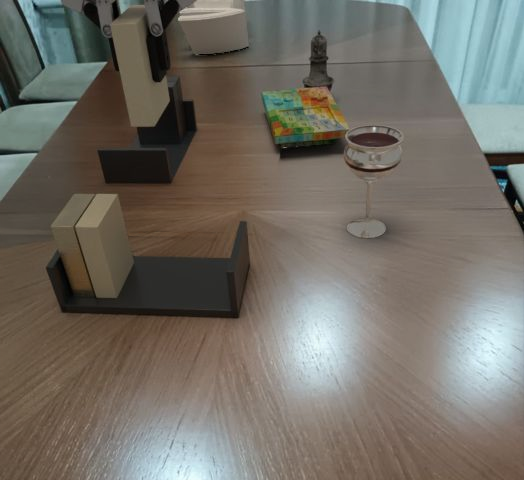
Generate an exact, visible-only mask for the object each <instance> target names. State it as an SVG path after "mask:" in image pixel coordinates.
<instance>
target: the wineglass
mask: <svg viewBox="0 0 524 480" xmlns="http://www.w3.org/2000/svg"><path fill="white" fill-rule="evenodd" d="M345 137H346V138H345V139H346V142H347V143H346V144H345V146H344V150H343V160H344V162H345V165H346V167H347V168H346V169H348V170H349V172H351V174H353V175H354V176H355V177H356V178H358V179H360V180H363V181H364V183H366V195H365V196H366V199H365V217H361V218H355V219H353V220H351V221H350V222H349V223H348V224H347V226H346V230H347V232H348V233H349V234H350V235H352V236H353V237H356V238H362V239H375V238H378V237H380V236H382V235H384V234H385V232H386V230H387V228H386V225H385V224H384V223H383V222H382V221H380V220H378V219H375V218H370V213H371V204H372V198H373V189H374V184H375V183H376V182H377V181H381V180H383V179H386V178H387V177H389V176H390V175H391V174H392V173H394V172H395V171H396V170H397V169H398V167H399V165H400V163H401V161H402V158H403V157H402V155H403V147H402V145H401V143H402V142H403V140H404V137H405V136H404V133H403V132H402V131H401V130H399V129H398V128H395V127H392V126H389V125H383V124H365V125H359V126H355V127H353V128H350V130H349V131H348V132H346V135H345Z"/></svg>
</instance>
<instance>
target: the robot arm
mask: <svg viewBox="0 0 524 480" xmlns="http://www.w3.org/2000/svg"><path fill="white" fill-rule="evenodd" d="M196 1H197V0H167V1H166V0H143V5H145V10H146V14H147V19H148V24H149V28H148V31H149V36H148V37H147V38H146V43H147V49H148V55H149V61H150V67H151V72H152V78H153V81H155V83H156V82H161V81H162V80H163V78H164V77H165V75H166V76H167V74H168V71H169V70H170V69H171V55H170V51H169V50H170V49H169V42H168V36H167V31H166V29H168V27H169V25H170V24H171V22H172V21H173V20H174V19H175V17H176V15H177V14H178V13H180V11H181V10H183V9H185V8H187V7H188V6H189V5H191V4H193V3H194V2H196ZM60 3H61V4H62V5H63V6H64V7H65V8H68V9H70V10H72V11H74V12H77V13H78V14H82V15H84V16H85V17H86V18H87V19H88V20H90V22H92V23H93V24H94V25H95V26H97V28H98V29H99V30H101V31H100V32H101V34H102V35H103V36H104V37H105V38H107V39H108V43H109V48H110V52H111V58H112V63H113V68H114V70H115V71H116V72H119V73H120V70H119V66H118V61H117V56H116V51H115V46H114V41H113V37H112V32H111V27H110V24H111V23H112V22H113V21H114V20H115V19H117V18H118V17H119V16H120V15H121V14H122V11H121V5H120V0H60ZM119 75H120V74H119ZM119 77H121V75H120V76H119ZM120 81H121V82H122V80H121V79H120Z"/></svg>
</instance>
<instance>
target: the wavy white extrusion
mask: <svg viewBox="0 0 524 480" xmlns="http://www.w3.org/2000/svg"><path fill="white" fill-rule="evenodd" d="M177 20H178V23H179V25H180V27H181V29H182V31H183V34H184V36H185V38H186V40H187V43H188V44H189V47H190V48H191V51H192V52H193V55H194V54H206V53H214V52H222V51H228V50H233V49H238V48H242V47H246V46H249V47H250V44H249V43H250V42H249V34H248V33H249V32H248V22H247V21H248V20H247V11H246V6H245V0H197V1H196V2H194V3H193V4H191V5H189V6H188V7H186V8H185V9H183V10H181V11H180V12H179V17H178V18H177Z"/></svg>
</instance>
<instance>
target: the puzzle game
mask: <svg viewBox="0 0 524 480" xmlns="http://www.w3.org/2000/svg"><path fill="white" fill-rule="evenodd" d="M260 95H261V102H262V105H263V109H264V112H265V116H266V118H267V122H268V126H269V128H270V131H271V135H272V137H273V142H274V144H275V145H277V146H280V149H282V148H283V147H294V148H299V147H298V146H305V147H311V146H310V145H316V146H322V145H321V144H327V145H335V144H336V143H338V142H339V141H340V140H341V139H346V137H345V135H346V132H348V131H349V130H350V129H351V127H350V126H349V124H348V123H347V120H346V119H345V117H344V116H343V114H342V111H341V110H340V108H339V106H338V104H337V103H336V100H335V99H334V97H333V95H332V93H331V91H330V92H329V90H328V88H327V86H324V87H313V88H304V87H301V88H291V89H280V90H267V91H261V92H260ZM296 146H297V147H296ZM283 149H284V148H283Z"/></svg>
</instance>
